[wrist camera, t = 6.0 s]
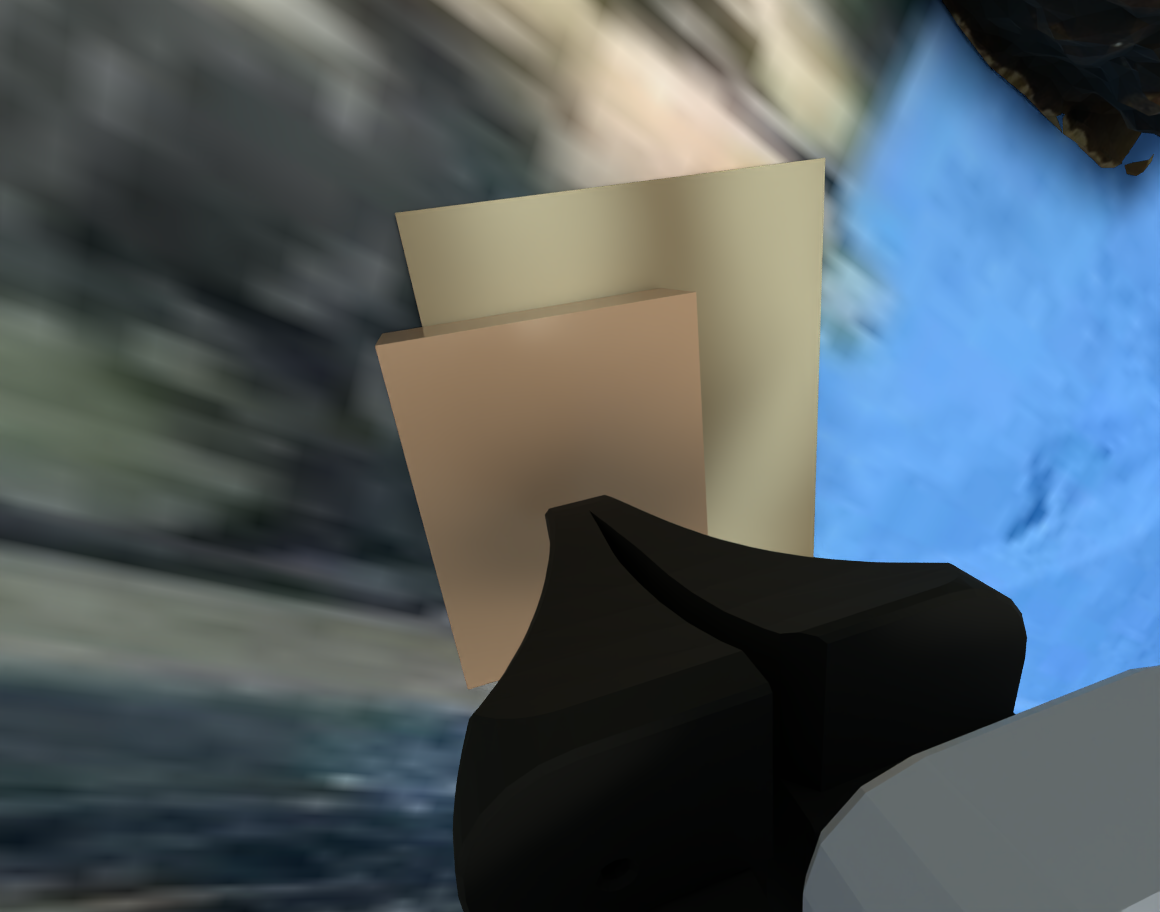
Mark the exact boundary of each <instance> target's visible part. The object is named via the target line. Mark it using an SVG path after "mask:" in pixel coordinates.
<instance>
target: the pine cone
mask: <svg viewBox="0 0 1160 912" xmlns="http://www.w3.org/2000/svg"><path fill="white" fill-rule="evenodd" d="M942 1H943V3H944V4H945V6H946V7H947V9H948V10H949V12H950V13H951V15H952V17H953V18H954V20H955V21H956V23H957V24H958V26H959V27H960V28H961V30H962V31H963V32H964V33H965V35H966V36H967V37H968V39H969V40H970V41H971V43H972V44H973V45H974V47H975V48H976V49H977V51H978V52H979V53H980V55H981V56H982V57H983V58H984V60H985V61H986V62H987V64H988V65H989V66H990V67H991V68H992V69H994V70H995V71H996V72H997V73H998V74H1000V75H1001V76H1002V77H1003V78H1004V79H1006V80H1007V81H1008V82H1009V83H1011V84H1012V85H1013V86H1014V87H1015V88H1017V89H1018V90H1019V91H1020V92H1022V93H1023V94H1024V95H1025V96H1026V97H1027V98H1028V99H1029V100H1030V101H1031V102H1032V103H1033V104H1034V105H1035V106H1036V107H1037V109H1038V110H1039V111H1040V112H1041V113H1042V114H1043V115H1044V116H1045V117H1046V118H1047V119H1048V120H1049V121H1050V122H1051V123H1052V124H1053V125H1055V126H1056V127H1057V128H1058V129H1059V130H1060V131H1061V132H1062V130H1061V127H1060V125H1059V122H1058V120H1057V117H1056V116H1059V115H1061V114H1062V113H1063V114H1065V115H1064V117H1063V134H1064V135H1066V136H1067V137H1069V138H1070V139H1072V140H1073V141H1075V142H1076V143H1077V144H1078V146H1079V147H1080V148H1081V149H1082V150H1083V151H1084V152H1085V153H1086V154H1087V155H1088V156H1089V157H1091V158H1092V159H1093V160H1094V161H1095V162H1096V163H1097V164H1098V165H1099V166H1100V167H1101V168H1114V167H1116V166H1118V165H1120V164H1122V160H1123V159H1124V158H1125V157H1126V155H1127V154H1128V153H1129V151H1130V150H1131V148H1132V147H1133V145H1134V144H1135V142H1136V140H1137V139H1138V137H1139V136H1140V134H1141V132H1143V133H1153V134H1156V135H1157V136H1159V137H1160V0H942ZM1153 155H1154V154H1153ZM1152 159H1153V156H1152V157H1151V158H1150V159H1149V160H1145V161H1140V162H1134V163H1130V164H1127V165H1125V169H1126V173H1127V174H1130V175H1134V176H1137V175H1139V174H1140V173H1142V172H1144V170H1145V169H1146V168H1147V166H1148V165H1149V164H1150V163H1151V161H1152Z"/></svg>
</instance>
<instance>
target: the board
mask: <svg viewBox="0 0 1160 912" xmlns="http://www.w3.org/2000/svg"><path fill="white" fill-rule="evenodd" d="M824 181H825V158H821V159H813V160H805V161H797V162H789V163H782V164H774V165H766V166H758V167H750V168H743V169H735V170H727V171H719V172H711V173H704V174H696V175H688V176H680V177H672V178H665V179H657V180H649V181H641V182H633V183H626V184H618V185H610V186H602V187H594V188H587V189H579V190H571V191H563V192H556V193H548V194H540V195H532V196H524V197H517V198H509V199H501V200H493V201H485V202H478V203H470V204H462V205H454V206H446V207H439V208H431V209H423V210H415V211H407V212H400V213H395V215H396V219H397V224H398V228H399V232H400V236H401V240H402V244H403V248H404V253H405V257H406V261H407V265H408V269H409V273H410V277H411V281H412V286H413V290H414V294H415V298H416V302H417V306H418V310H419V315H420V319H421V323H422V327H426V326H432V325H438V324H444V323H450V322H456V321H462V320H469V319H475V318H481V317H487V316H493V315H499V314H505V313H511V312H517V311H523V310H530V309H536V308H542V307H548V306H554V305H560V304H566V303H572V302H578V301H584V300H591V299H597V298H603V297H609V296H615V295H621V294H627V293H633V292H639V291H645V290H652V289H658V288H666V289H675V290H684V291H692V292H696V296H697V317H698V338H699V359H700V380H701V401H702V422H703V443H704V463H705V484H706V505H707V526H708V536H711V537H715V538H718V539H721V540H725V541H729V542H733V543H737V544H741V545H745V546H749V547H754V548H759V549H764V550H769V551H774V552H781V553H787V554H793V555H800V556H807V557H813V550H814V517H815V483H816V450H817V416H818V383H819V349H820V316H821V282H822V248H823V215H824Z"/></svg>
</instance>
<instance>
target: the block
mask: <svg viewBox="0 0 1160 912" xmlns="http://www.w3.org/2000/svg"><path fill="white" fill-rule="evenodd" d="M375 348H376V351H377V355H378V359H379V362H380V366H381V370H382V374H383V377H384V381H385V385H386V388H387V392H388V396H389V399H390V403H391V407H392V410H393V414H394V418H395V422H396V425H397V429H398V433H399V436H400V440H401V444H402V447H403V451H404V455H405V459H406V462H407V466H408V470H409V473H410V477H411V481H412V484H413V488H414V492H415V495H416V499H417V503H418V507H419V510H420V514H421V518H422V521H423V525H424V529H425V532H426V536H427V540H428V543H429V547H430V551H431V555H432V558H433V562H434V566H435V569H436V573H437V577H438V580H439V584H440V588H441V591H442V595H443V599H444V603H445V606H446V610H447V614H448V617H449V621H450V625H451V628H452V632H453V636H454V639H455V643H456V647H457V651H458V654H459V658H460V662H461V665H462V669H463V673H464V676H465V680H466V684H467V687H468V689H472V688H475V687H478V686H482V685H485V684H488V683H492V682H495V681H498V680H500V678H501V677H502V676H503V674H504V672H505V671H506V669H507V667H508V665H509V664H510V662H511V660H512V659H513V657H514V655H515V653H516V652H517V650H518V648H519V647H520V645H521V643H522V641H523V639H524V637H525V635H526V633H527V630H528V628H529V626H530V623H531V621H532V618H533V616H534V614H535V611H536V608H537V605H538V602H539V599H540V596H541V593H542V589H543V585H544V581H545V577H546V571H547V566H548V560H549V551H550V541H549V536H548V530H547V525H546V519H545V514H546V512H547V511H548V509H549V508H553V507H557V506H561V505H565V504H569V503H573V502H577V501H581V500H585V499H589V498H593V497H597V496H601V495H607V496H610V497H613V498H615V499H618V500H620V501H622V502H625V503H627V504H629V505H631V506H633V507H636V508H638V509H640V510H643V511H645V512H647V513H649V514H652V515H654V516H656V517H659V518H661V519H664V520H666V521H669V522H671V523H674V524H676V525H679V526H682V527H684V528H687V529H690V530H693V531H696V532H699V533H702V534H705V535H708V526H707V505H706V484H705V463H704V443H703V422H702V401H701V380H700V359H699V338H698V317H697V296H696V292H692V291H684V290H675V289H666V288H658V289H652V290H645V291H639V292H633V293H627V294H621V295H615V296H609V297H603V298H597V299H591V300H584V301H578V302H572V303H566V304H560V305H554V306H548V307H542V308H536V309H530V310H523V311H517V312H511V313H505V314H499V315H493V316H487V317H481V318H475V319H469V320H462V321H456V322H450V323H444V324H438V325H432V326H426V327H420V328H414V329H408V330H401V331H395V332H389V333H383V334H382V335H381V337H380V338H379V340H378V342H377V343H376V345H375Z"/></svg>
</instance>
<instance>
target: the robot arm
mask: <svg viewBox="0 0 1160 912" xmlns="http://www.w3.org/2000/svg"><path fill="white" fill-rule="evenodd" d="M545 519H546V525H547V530H548V536H549V541H550V551H549V560H548V566H547V571H546V577H545V581H544V585H543V589H542V593H541V596H540V599H539V602H538V605H537V608H536V611H535V614H534V616H533V618H532V621H531V623H530V626H529V628H528V630H527V633H526V635H525V637H524V639H523V641H522V643H521V645H520V647H519V648H518V650H517V652H516V653H515V655H514V657H513V659H512V660H511V662H510V664H509V665H508V667H507V669H506V671H505V672H504V674H503V676H502V677H501V678H500V680H499V681H498V683H497V684H496V686H495V687H494V688H493V690H492V691H491V692H490V694H489V695H488V696H487V697H486V699H485V700H484V701H483V703H482V704H481V705H480V707H479V708H478V709H477V710H476V711H475V712H474V713H473V715H472V716H471V717H470V719H469V722H468V726H467V731H466V735H465V740H464V744H463V749H462V754H461V760H460V765H459V771H458V777H457V784H456V792H455V803H454V815H453V844H454V860H455V874H456V882H457V889H458V897H459V900H460V903H461V906H462V909H463V911H464V912H1160V665H1159V666H1152V667H1144V668H1137V669H1130V670H1127V671H1125V672H1122V673H1120V674H1117V675H1115V676H1112V677H1110V678H1107V679H1105V680H1102V681H1099V682H1097V683H1094V684H1092V685H1089V686H1087V687H1084V688H1082V689H1079V690H1077V691H1074V692H1072V693H1069V694H1067V695H1064V696H1062V697H1059V698H1056V699H1054V700H1051V701H1049V702H1046V703H1044V704H1041V705H1039V706H1036V707H1034V708H1031V709H1029V710H1026V711H1024V712H1021V713H1019V714H1014V713H1013V711H1014V706H1015V701H1016V697H1017V692H1018V688H1019V683H1020V679H1021V674H1022V669H1023V665H1024V660H1025V653H1026V642H1027V636H1026V630H1025V626H1024V622H1023V617H1022V613H1021V612H1020V610H1019V609H1018V608H1017V606H1016V605H1015V604H1014V602H1013V601H1012V600H1011V599H1010V598H1008V597H1007V596H1005V595H1003V594H1002V593H1000V592H998V591H996V590H995V589H993V588H991V587H990V586H988V585H986V584H985V583H983V582H981V581H979V580H978V579H976V578H974V577H973V576H971V575H969V574H968V573H966V572H964V571H962V570H961V569H959V568H957V567H956V566H954V565H952V564H950V563H885V562H862V561H848V560H834V559H824V558H815V557H807V556H800V555H793V554H787V553H781V552H774V551H769V550H764V549H759V548H754V547H749V546H745V545H741V544H737V543H733V542H729V541H725V540H721V539H718V538H715V537H711V536H708V535H705V534H702V533H699V532H696V531H693V530H690V529H687V528H684V527H682V526H679V525H676V524H674V523H671V522H669V521H666V520H664V519H661V518H659V517H656V516H654V515H652V514H649V513H647V512H645V511H643V510H640V509H638V508H636V507H633V506H631V505H629V504H627V503H625V502H622V501H620V500H618V499H615V498H613V497H610V496H607V495H601V496H597V497H593V498H589V499H585V500H581V501H577V502H573V503H569V504H565V505H561V506H557V507H553V508H549V509H548V511H547V512H546V514H545Z"/></svg>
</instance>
